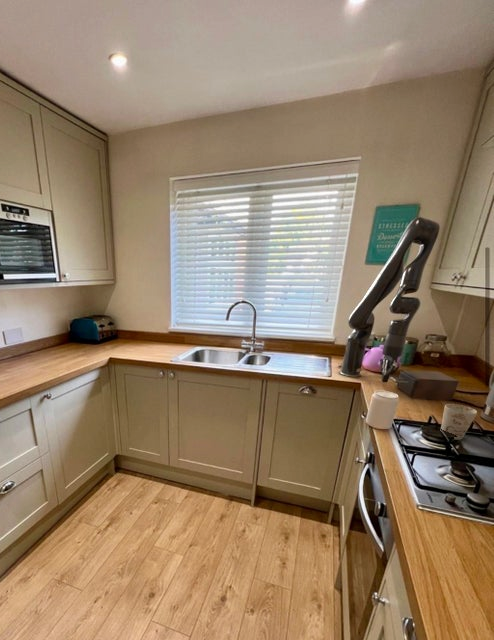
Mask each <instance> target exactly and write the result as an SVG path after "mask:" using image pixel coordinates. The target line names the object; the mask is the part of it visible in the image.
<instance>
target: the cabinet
mask: <svg viewBox="0 0 494 640" xmlns="http://www.w3.org/2000/svg"><path fill="white" fill-rule="evenodd" d="M402 372H404V373H406V374H408V375H410V376H411V377H413V378H415V379H417V384H416V387H415V390H414V394H413V396H412V395H409V394H407V393H406V392H404V391H403V390H401V389H400V388H398V389H399V390H401V391H402V392H404V394H406V395H408V396H409V397H411V398H412V399H423V400H439V401H453V399H454V396H455V394H456V391H457V388H458V385H459V382H460V380H458V379H455V378H454V377H452V376H450V375H448V374H445V373H443V372H441V371H431V370H416V369H415V370H413V369H402Z"/></svg>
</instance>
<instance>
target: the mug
mask: <svg viewBox="0 0 494 640" xmlns="http://www.w3.org/2000/svg"><path fill="white" fill-rule="evenodd" d="M477 414H478V411H477V410H476V409H475V408H473V407H470V406H467V405H462V404H457V403H446V404H445V405H444V409H443V414H442V420H441V425H440V430H441V429H442V430H444V431H446V432H449V433H452V434H454V435H456V436H457V437H454V439H453V440H456V441H457V440H459V441H461V440H462V439H463V438H464V436H465V435H466V433H467V431H468V430H469V428H470V426H471V425H472V423H473V421H474V420H475V418H476V417H477Z"/></svg>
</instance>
